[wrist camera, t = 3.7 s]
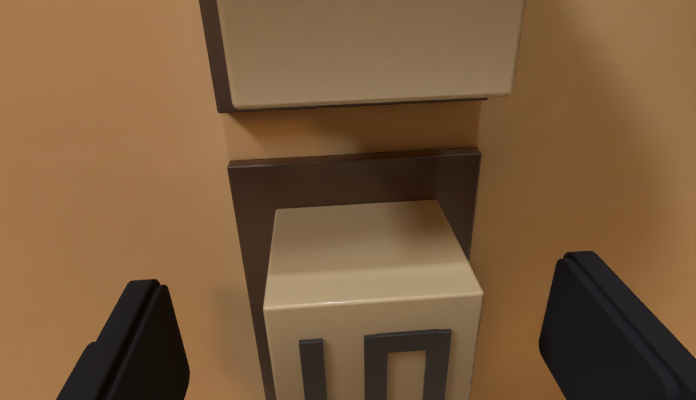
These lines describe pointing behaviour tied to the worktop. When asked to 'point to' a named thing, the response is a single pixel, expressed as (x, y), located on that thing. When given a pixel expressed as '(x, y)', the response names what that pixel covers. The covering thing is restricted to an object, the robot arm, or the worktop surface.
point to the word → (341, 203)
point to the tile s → (370, 304)
